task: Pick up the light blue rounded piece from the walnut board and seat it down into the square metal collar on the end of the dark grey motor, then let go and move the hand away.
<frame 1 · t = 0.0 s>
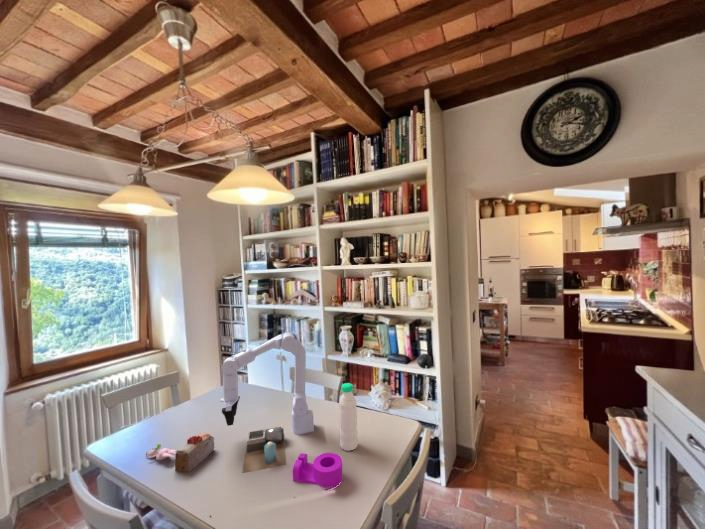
hand: (231, 420, 122), 10 cm above the table, tool pointing down, fingers open, 7 cm apart
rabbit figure: (161, 459, 115), on the table
mounting board: (265, 454, 115), on the table
food item: (195, 463, 112), on the table
tape dispenser: (319, 479, 102), on the table
light blue rounded piece: (270, 460, 110), point 1 cm above the table, touching mounting board
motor: (256, 445, 119), resting on mounting board
water bottle: (349, 447, 119), on the table
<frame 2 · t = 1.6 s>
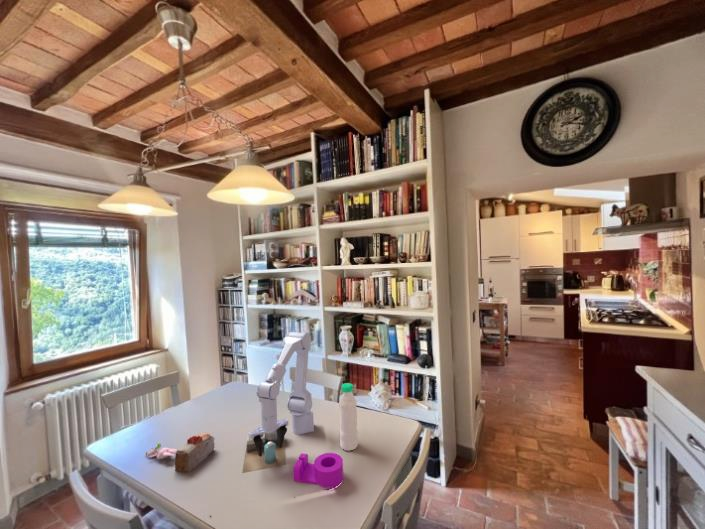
hand: (269, 450, 110), 5 cm above the table, tool pointing down, fingers open, 7 cm apart
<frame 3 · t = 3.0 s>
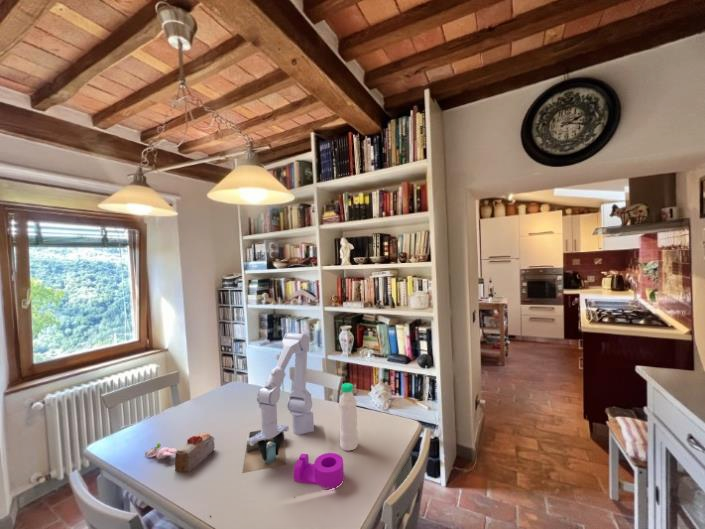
hand: (270, 456, 110), 3 cm above the table, tool pointing down, fingers closed on light blue rounded piece, 4 cm apart
light blue rounded piece: (270, 460, 110), point 1 cm above the table, touching gripper, mounting board
everything else where it was.
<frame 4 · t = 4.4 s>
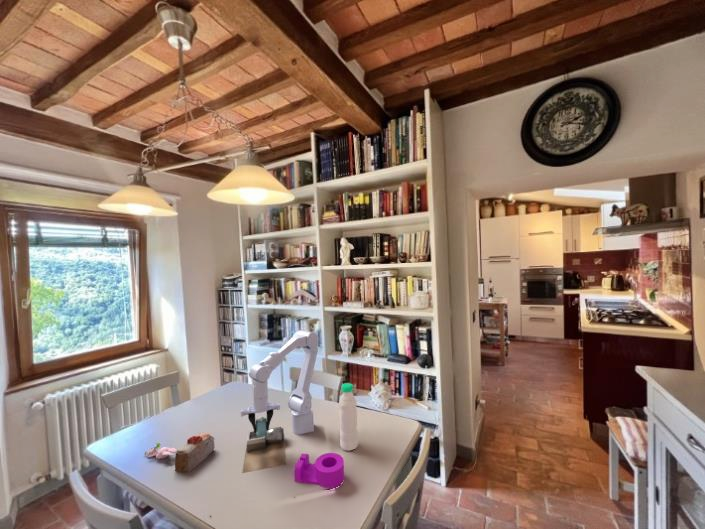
hand: (261, 430, 115), 9 cm above the table, tool pointing down, fingers closed on light blue rounded piece, 4 cm apart
light blue rounded piece: (261, 434, 115), point 8 cm above the table, touching gripper
everything else where it was.
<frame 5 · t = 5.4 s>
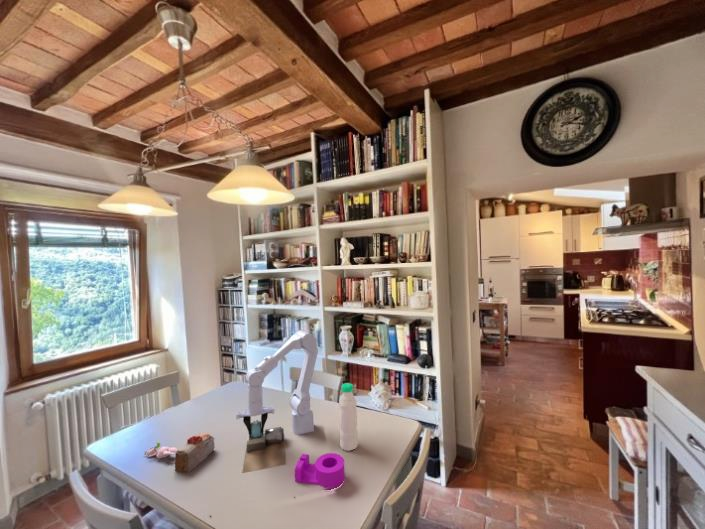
hand: (256, 433, 119), 6 cm above the table, tool pointing down, fingers closed on light blue rounded piece, 4 cm apart
light blue rounded piece: (256, 436, 119), point 5 cm above the table, touching gripper
when the fingers open (6 cm above the table, at t = 6.1 s): light blue rounded piece stays where it is, resting on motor.
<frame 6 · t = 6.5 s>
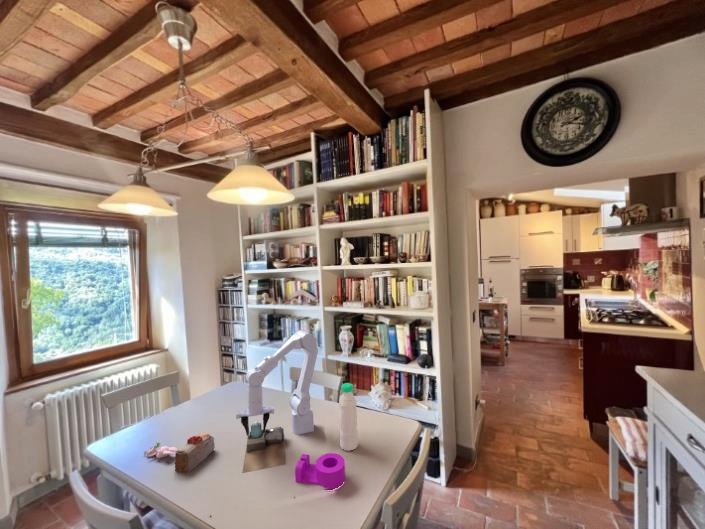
hand: (256, 433, 119), 6 cm above the table, tool pointing down, fingers open, 6 cm apart
light blue rounded piece: (256, 438, 119), point 4 cm above the table, touching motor
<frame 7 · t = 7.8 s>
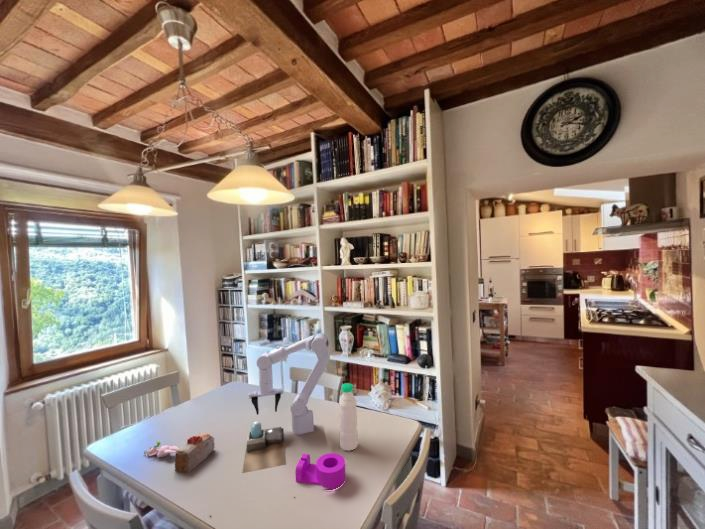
hand: (266, 412, 130), 9 cm above the table, tool pointing down, fingers open, 7 cm apart
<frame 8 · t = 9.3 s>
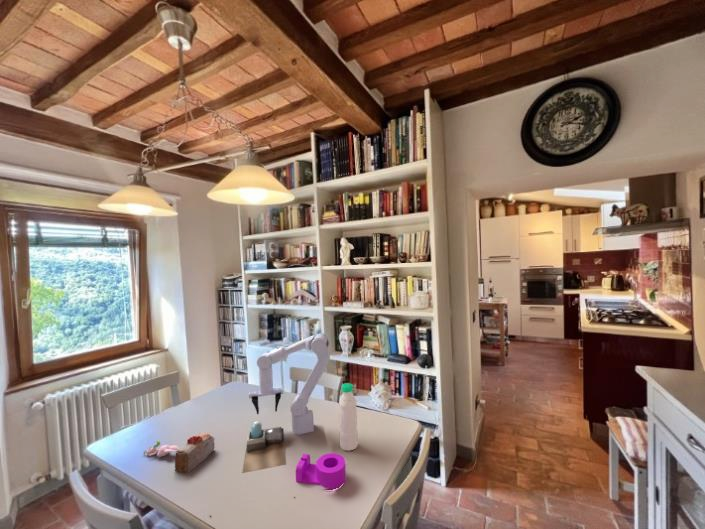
hand: (267, 411, 130), 9 cm above the table, tool pointing down, fingers open, 7 cm apart
at the end: light blue rounded piece 0.1 cm off-centre on the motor, point 2.8 cm above the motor's base; light blue rounded piece tilted 1°; the gripper is holding nothing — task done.
